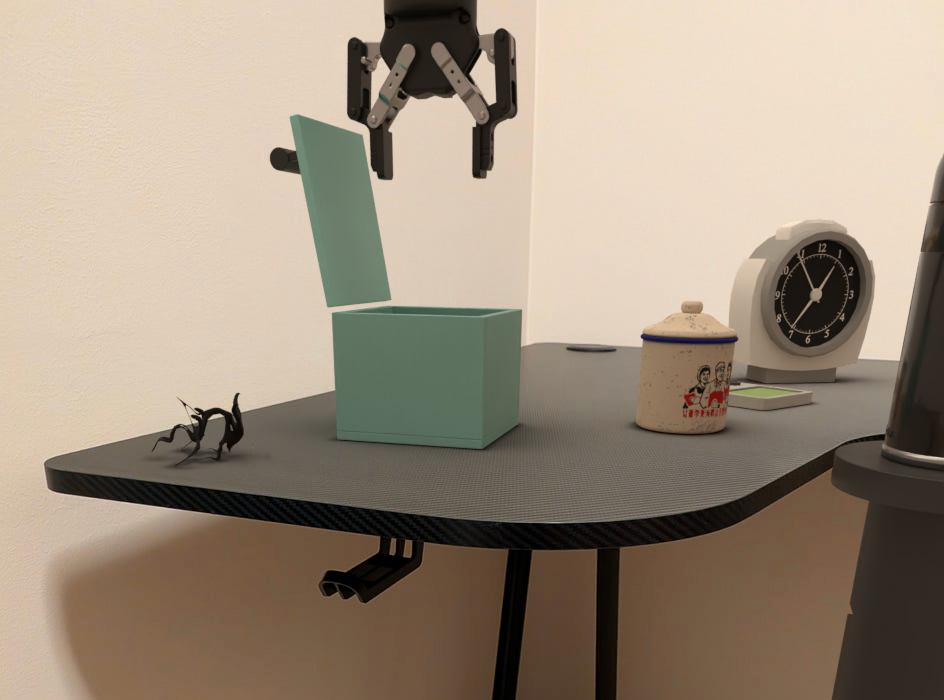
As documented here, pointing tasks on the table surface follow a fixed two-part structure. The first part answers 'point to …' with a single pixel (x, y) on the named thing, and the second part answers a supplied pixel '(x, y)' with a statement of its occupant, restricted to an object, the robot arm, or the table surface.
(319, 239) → the lid
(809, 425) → the table surface
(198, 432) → the creature
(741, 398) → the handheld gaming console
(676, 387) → the teacup with lid
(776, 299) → the alarm clock
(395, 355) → the box
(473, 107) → the robot arm
